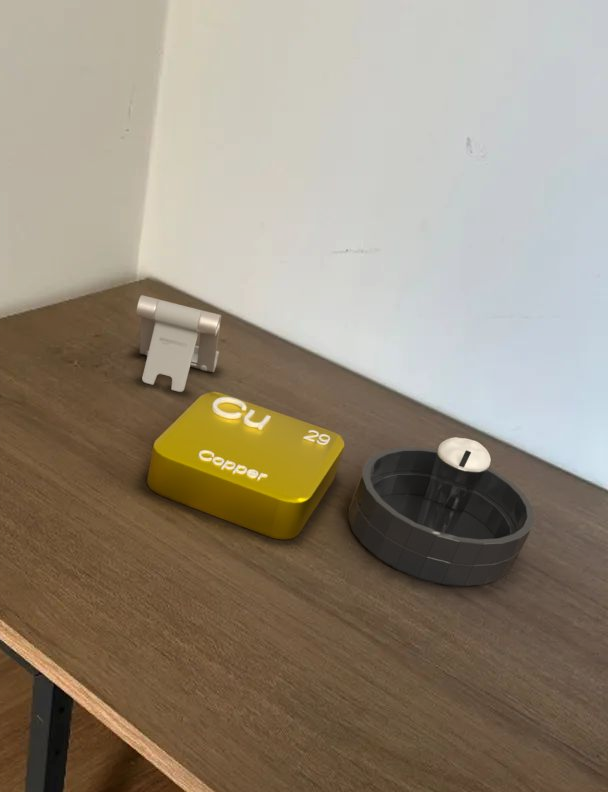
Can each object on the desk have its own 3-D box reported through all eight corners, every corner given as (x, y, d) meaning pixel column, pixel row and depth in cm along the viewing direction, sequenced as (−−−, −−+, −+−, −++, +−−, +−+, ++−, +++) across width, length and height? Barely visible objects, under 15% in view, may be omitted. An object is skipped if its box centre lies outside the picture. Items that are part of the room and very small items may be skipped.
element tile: (138, 489, 88) (146, 443, 85) (200, 424, 99) (209, 382, 96) (291, 547, 84) (305, 501, 81) (338, 474, 95) (352, 431, 92)
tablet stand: (215, 369, 109) (230, 297, 104) (200, 398, 103) (215, 323, 98) (143, 350, 110) (154, 278, 105) (124, 377, 104) (135, 302, 99)
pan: (484, 500, 95) (504, 457, 92) (534, 598, 84) (559, 552, 81) (333, 483, 94) (348, 438, 91) (364, 580, 82) (382, 532, 79)
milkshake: (402, 539, 87) (441, 442, 80) (412, 511, 91) (450, 416, 84) (452, 556, 86) (495, 459, 80) (459, 526, 90) (501, 432, 84)
